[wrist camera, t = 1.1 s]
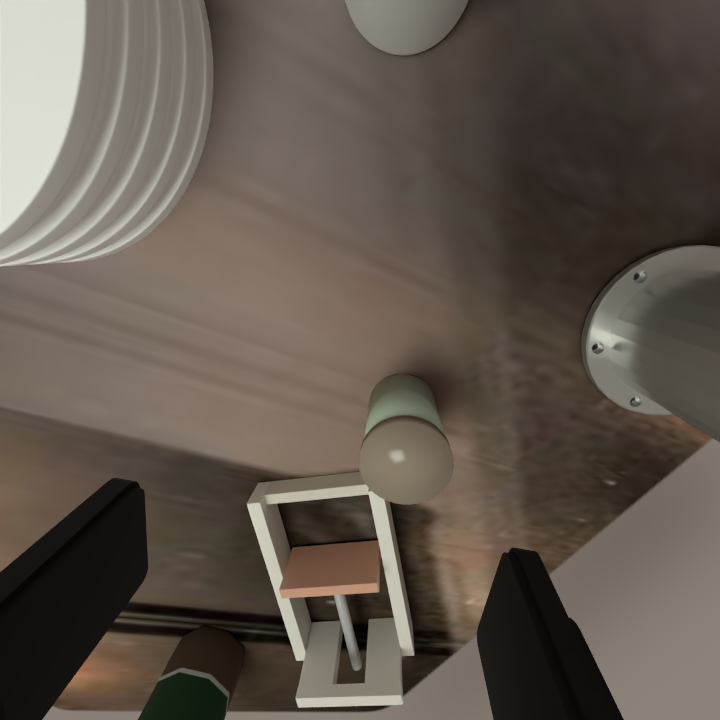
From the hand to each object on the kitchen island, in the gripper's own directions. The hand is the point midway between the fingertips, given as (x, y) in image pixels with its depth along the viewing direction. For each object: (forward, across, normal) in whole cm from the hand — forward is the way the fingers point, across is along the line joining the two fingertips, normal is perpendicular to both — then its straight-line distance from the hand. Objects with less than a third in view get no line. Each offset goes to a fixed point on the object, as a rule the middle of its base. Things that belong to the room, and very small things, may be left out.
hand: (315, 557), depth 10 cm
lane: (+22, 0, +22) cm, 31 cm away
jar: (+22, -4, +5) cm, 22 cm away
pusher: (+21, -2, +27) cm, 34 cm away
